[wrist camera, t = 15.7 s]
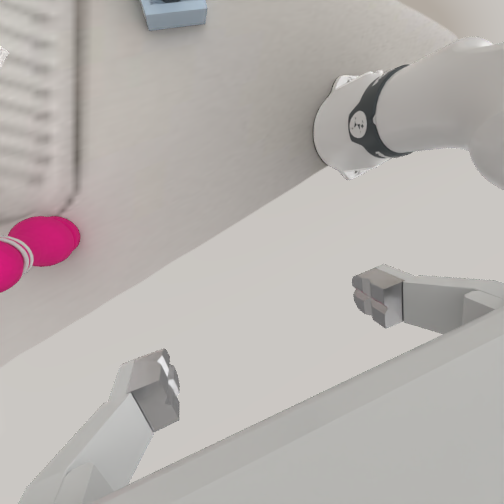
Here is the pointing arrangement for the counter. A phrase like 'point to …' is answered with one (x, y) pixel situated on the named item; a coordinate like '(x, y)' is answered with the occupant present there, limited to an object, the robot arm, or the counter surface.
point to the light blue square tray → (173, 13)
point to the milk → (3, 55)
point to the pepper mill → (35, 246)
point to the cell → (170, 1)
